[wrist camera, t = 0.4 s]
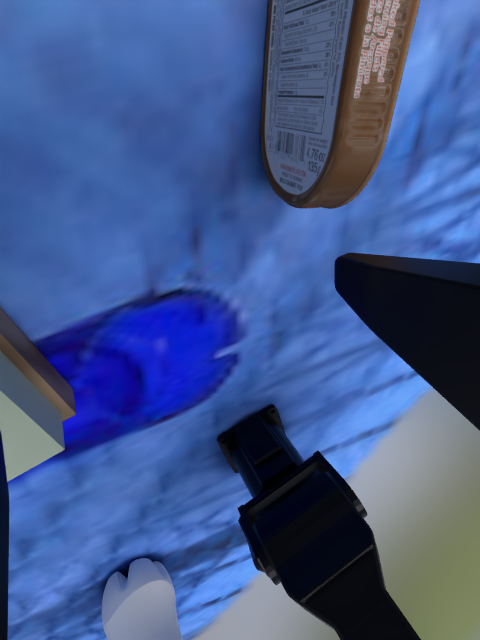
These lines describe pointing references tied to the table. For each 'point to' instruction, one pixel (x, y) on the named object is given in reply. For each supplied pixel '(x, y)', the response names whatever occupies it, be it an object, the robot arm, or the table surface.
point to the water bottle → (140, 604)
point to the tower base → (35, 366)
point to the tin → (330, 94)
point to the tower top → (26, 422)
